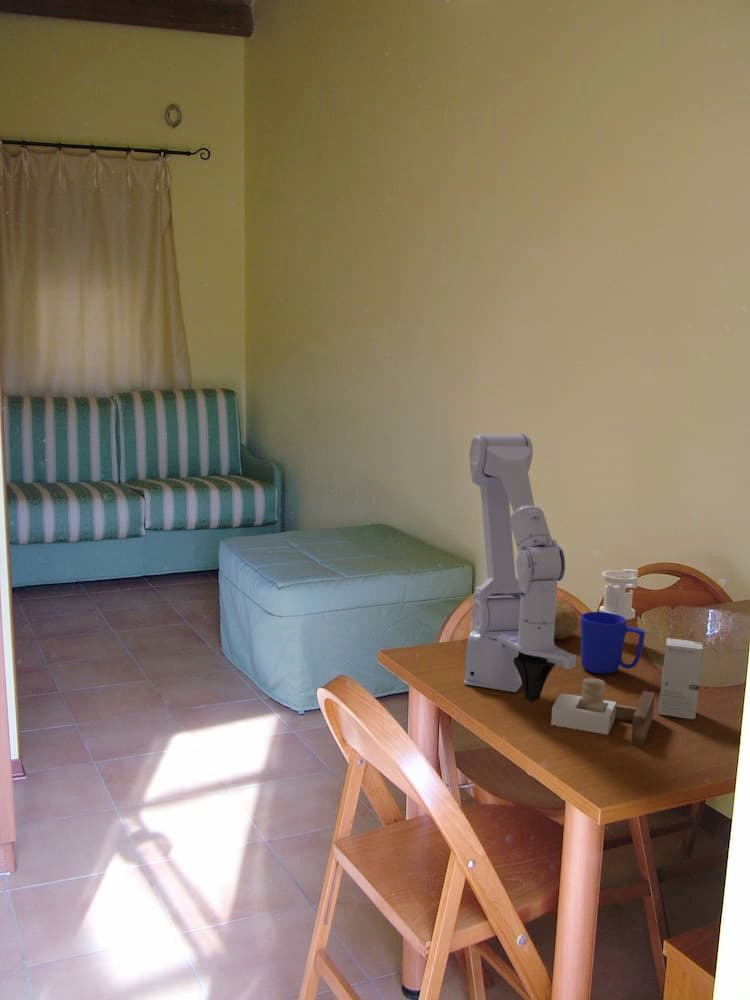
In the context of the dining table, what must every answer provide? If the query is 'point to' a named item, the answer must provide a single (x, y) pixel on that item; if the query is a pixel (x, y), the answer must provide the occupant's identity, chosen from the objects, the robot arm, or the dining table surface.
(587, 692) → the dowel
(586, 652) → the mug
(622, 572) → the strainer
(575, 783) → the dining table surface
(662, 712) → the skincare box
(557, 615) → the potato
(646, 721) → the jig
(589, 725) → the white pocketed block
